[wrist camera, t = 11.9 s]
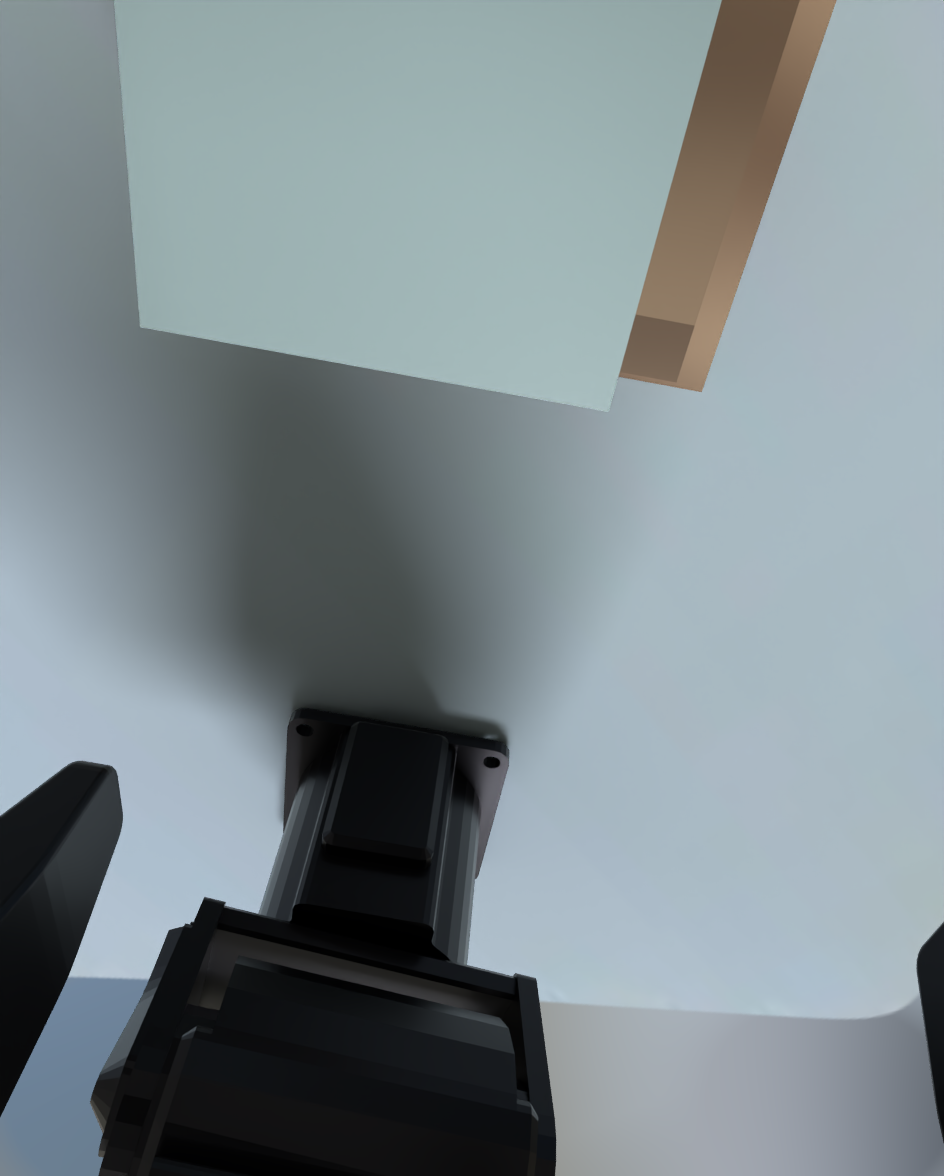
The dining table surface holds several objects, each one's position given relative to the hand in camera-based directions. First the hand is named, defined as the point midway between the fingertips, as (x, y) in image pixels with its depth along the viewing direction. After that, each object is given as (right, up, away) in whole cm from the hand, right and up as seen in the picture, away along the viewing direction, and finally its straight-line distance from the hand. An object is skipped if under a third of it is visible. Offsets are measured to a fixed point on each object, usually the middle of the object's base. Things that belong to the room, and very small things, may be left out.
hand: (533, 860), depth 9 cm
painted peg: (0, +12, +5) cm, 13 cm away
